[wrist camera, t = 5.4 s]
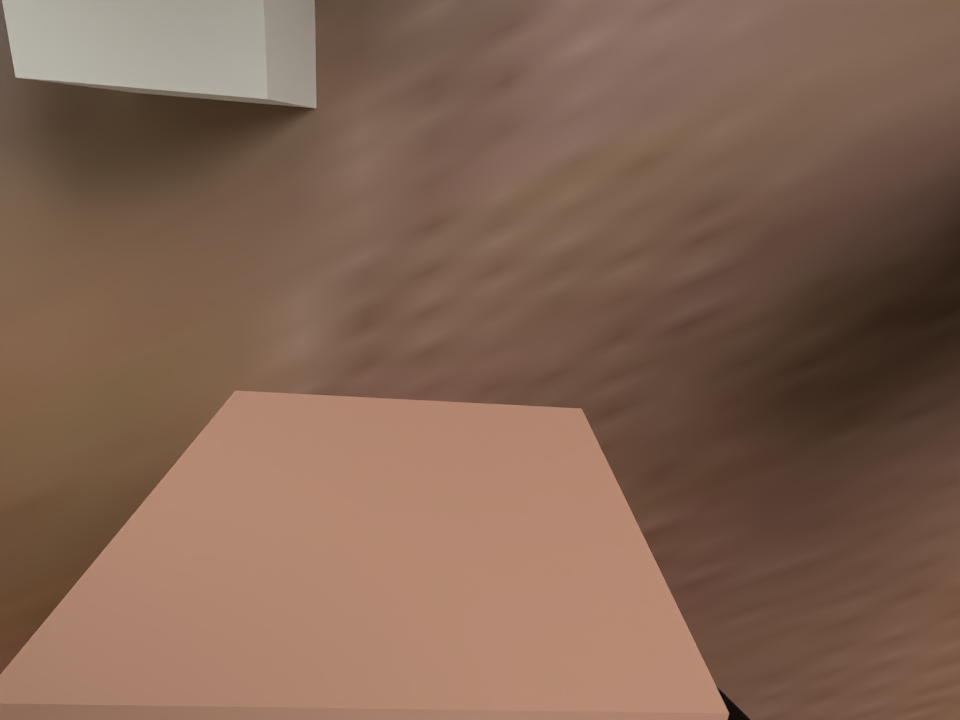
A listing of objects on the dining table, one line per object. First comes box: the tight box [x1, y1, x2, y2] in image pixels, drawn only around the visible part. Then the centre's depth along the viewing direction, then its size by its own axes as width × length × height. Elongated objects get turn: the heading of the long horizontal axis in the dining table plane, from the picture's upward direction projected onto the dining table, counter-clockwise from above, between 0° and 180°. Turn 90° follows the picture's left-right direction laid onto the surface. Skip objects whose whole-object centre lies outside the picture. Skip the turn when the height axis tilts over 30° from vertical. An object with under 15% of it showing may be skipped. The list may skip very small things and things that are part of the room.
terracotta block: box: [0, 391, 729, 720], centre depth 7 cm, size 5×5×5 cm
